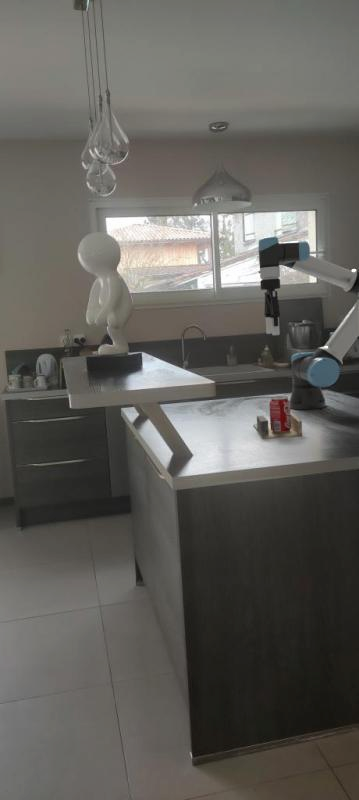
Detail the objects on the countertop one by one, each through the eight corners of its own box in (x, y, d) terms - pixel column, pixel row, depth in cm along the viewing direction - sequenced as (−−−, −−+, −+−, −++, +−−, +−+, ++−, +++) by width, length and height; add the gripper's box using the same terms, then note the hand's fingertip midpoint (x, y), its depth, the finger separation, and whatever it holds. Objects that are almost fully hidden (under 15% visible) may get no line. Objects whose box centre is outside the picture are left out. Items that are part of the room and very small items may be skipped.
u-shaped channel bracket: (289, 422, 217) (288, 408, 216) (302, 435, 196) (301, 419, 195) (253, 425, 217) (252, 411, 216) (262, 438, 195) (261, 422, 195)
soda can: (290, 428, 204) (289, 395, 203) (292, 433, 197) (290, 398, 196) (270, 429, 205) (268, 396, 203) (271, 434, 198) (269, 399, 196)
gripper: (255, 281, 235) (258, 333, 238) (265, 278, 210) (268, 336, 214) (274, 279, 235) (276, 332, 238) (286, 276, 210) (288, 335, 214)
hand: (272, 334), depth 226 cm, fingers open, 13 cm apart
